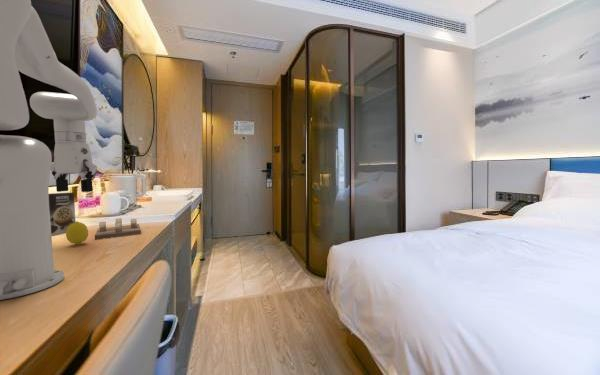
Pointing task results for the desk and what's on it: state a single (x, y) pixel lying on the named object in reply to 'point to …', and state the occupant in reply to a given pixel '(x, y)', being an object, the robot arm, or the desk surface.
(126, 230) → the peg cradle
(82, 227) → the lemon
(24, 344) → the desk surface
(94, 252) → the desk surface
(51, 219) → the coffee box
